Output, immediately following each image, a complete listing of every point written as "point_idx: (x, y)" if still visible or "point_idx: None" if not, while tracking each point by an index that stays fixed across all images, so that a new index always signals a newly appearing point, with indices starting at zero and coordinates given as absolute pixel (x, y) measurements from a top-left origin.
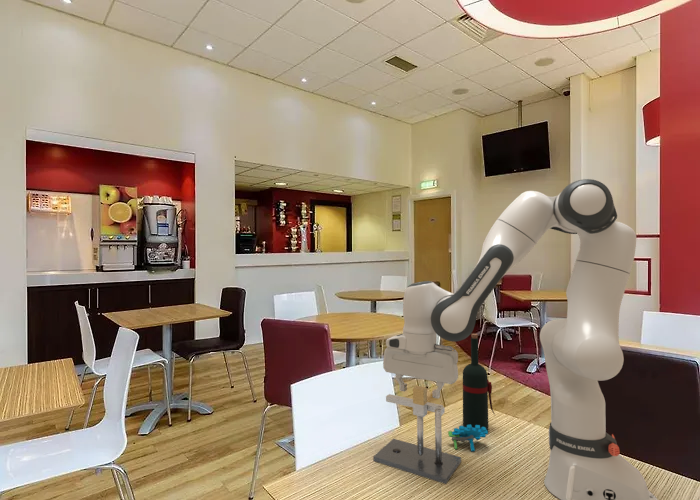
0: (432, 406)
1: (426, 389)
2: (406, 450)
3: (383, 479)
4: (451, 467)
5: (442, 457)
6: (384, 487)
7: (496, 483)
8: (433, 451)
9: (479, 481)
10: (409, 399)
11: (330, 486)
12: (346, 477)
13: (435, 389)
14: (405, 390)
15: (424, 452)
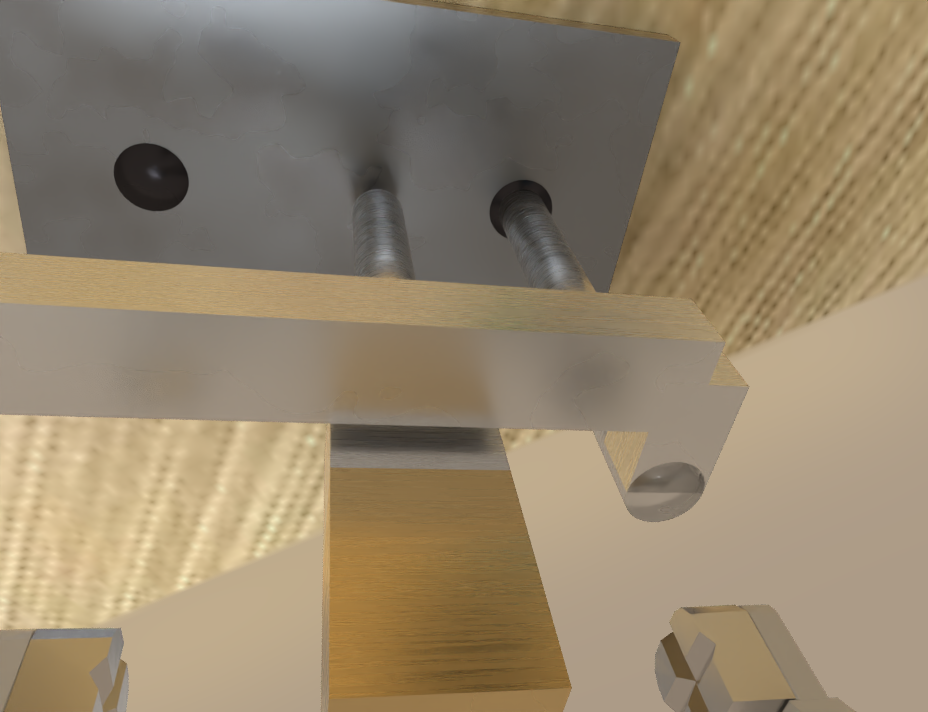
0: (578, 425)
1: (557, 671)
2: (223, 133)
3: (238, 450)
4: (613, 225)
5: (536, 116)
6: (280, 498)
7: (867, 209)
8: (447, 46)
9: (771, 233)
10: (148, 354)
11: (31, 599)
12: (40, 519)
13: (745, 704)
14: (116, 653)
15: (378, 99)
